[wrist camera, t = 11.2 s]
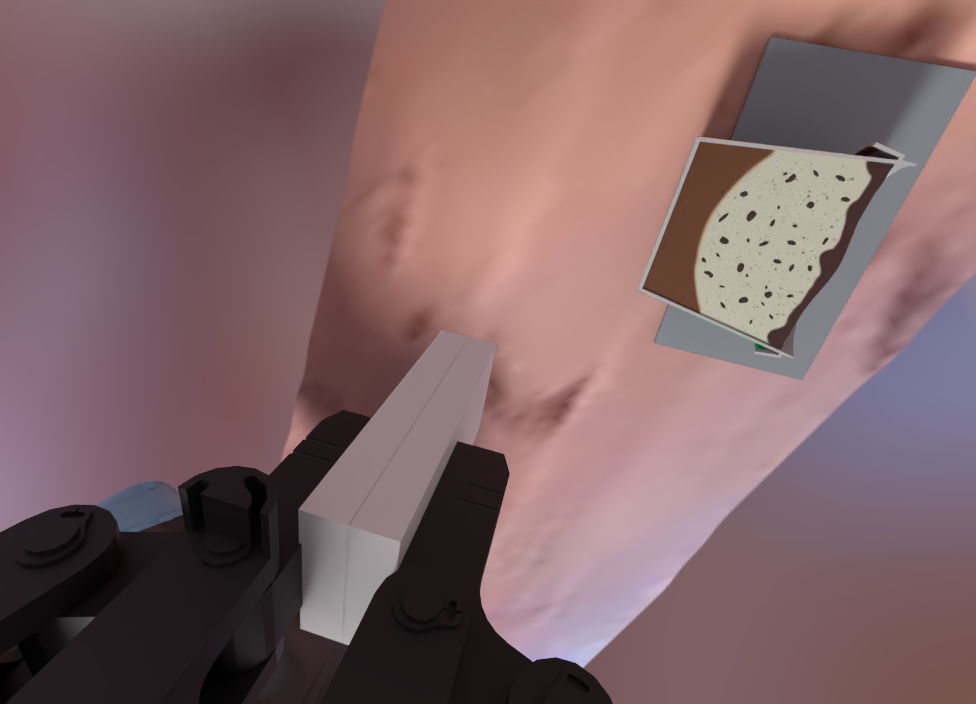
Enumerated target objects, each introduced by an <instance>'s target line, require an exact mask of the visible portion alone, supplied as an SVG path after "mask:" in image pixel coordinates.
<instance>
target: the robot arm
mask: <svg viewBox="0 0 976 704" xmlns="http://www.w3.org/2000/svg"><path fill="white" fill-rule="evenodd" d="M496 346H497V344H494V343H490V342H486V341H483V340H479V339H475V338H471V337H467V336H463V335H459V334H456V333H452V332H448V331H444V330H441V332H440V333H439V334H438V335H437V337H436V338H435V339H434V340H433V342H432V343H431V344H430V345H429V347H428V348H427V349H426V350H425V352H424V353H423V354H422V355H421V357H420V358H419V359H418V360H417V362H416V363H415V364H414V365H413V367H412V368H411V369H410V370H409V372H408V373H407V374H406V375H405V377H404V378H403V379H402V380H401V382H400V383H399V384H398V385H397V387H396V388H395V389H394V391H393V392H392V393H391V394H390V396H389V397H388V398H387V399H386V401H385V402H384V403H383V404H382V406H381V407H380V408H379V409H378V411H377V412H376V413H375V414H374V416H373V417H372V418H370V417H366V416H363V415H359V414H356V413H352V412H349V411H345V410H342V411H340V412H338V413H336V414H334V415H332V416H330V417H328V418H326V419H324V420H322V421H321V422H320V423H319V424H318V425H317V426H316V427H315V428H314V429H313V430H312V431H311V432H310V433H309V434H308V435H307V436H306V439H305V440H303V441H302V442H301V443H300V444H299V445H298V446H297V447H296V448H295V449H294V451H293V453H292V454H291V453H290V454H289V455H288V456H287V457H286V458H285V459H284V460H283V461H282V462H281V463H280V464H279V466H278V467H277V468H276V469H275V470H274V471H273V472H272V473H271V474H270V475H267V474H265V473H263V472H261V471H259V470H257V469H254V468H248V467H241V466H232V467H223V468H216V469H213V470H210V471H207V472H204V473H201V474H198V475H196V476H194V477H193V478H191V479H189V480H188V481H186V482H185V483H183V484H182V485H180V486H178V490H179V491H178V490H176V489H175V488H174V487H172V486H171V485H170V484H168V483H165V482H163V481H157V480H151V481H144V482H140V483H137V484H134V485H132V486H130V487H127V488H125V489H123V490H121V491H119V492H117V493H115V494H114V495H112V496H110V497H108V498H106V499H104V500H103V501H101V502H99V503H97V504H96V505H70V506H65V507H61V508H55V509H51V510H48V511H45V512H43V513H40V514H38V515H36V516H33V517H31V518H28V519H26V520H24V521H22V522H20V523H18V524H16V525H14V526H12V527H10V528H8V529H6V530H4V531H2V532H0V704H613V703H612V701H611V698H610V696H609V695H608V694H607V692H606V691H605V690H604V689H603V687H602V686H601V685H600V683H599V682H598V681H597V679H596V678H595V677H594V676H593V675H591V674H590V673H589V672H587V671H586V670H584V669H583V668H582V667H580V666H579V665H578V664H576V663H573V662H570V661H566V660H563V659H560V658H556V657H555V658H547V659H540V660H536V661H534V662H532V661H531V660H530V659H528V658H527V657H526V656H524V655H523V654H522V653H520V652H519V651H518V650H516V649H515V648H514V647H512V646H511V645H510V644H508V643H507V642H506V641H505V640H504V639H503V638H502V637H501V636H500V635H498V634H497V633H496V632H495V630H494V629H493V627H492V626H491V624H490V623H489V621H488V620H487V618H486V615H485V613H484V610H483V608H482V605H481V597H480V586H481V581H482V577H483V573H484V569H485V566H486V562H487V558H488V554H489V551H490V547H491V543H492V539H493V536H494V532H495V528H496V524H497V520H498V516H499V513H500V509H501V505H502V501H503V497H504V493H505V489H506V486H507V482H508V478H509V470H508V466H507V463H506V459H505V456H504V454H501V453H498V452H494V451H491V450H487V449H484V448H480V447H477V446H473V443H474V440H475V438H476V435H477V433H478V431H479V428H480V423H481V418H482V413H483V409H484V404H485V399H486V394H487V389H488V385H489V380H490V375H491V370H492V365H493V360H494V356H495V351H496Z"/></svg>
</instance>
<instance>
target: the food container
mask: <svg viewBox="0 0 976 704" xmlns="http://www.w3.org/2000/svg"><path fill="white" fill-rule="evenodd" d="M904 157H905V155H904V154H901V153H899V152H897V151H895V150H893V149H890V148H888V147H886V146H884V145H881V144H879V143H877V142H874V143H870V144H868V145H865V146H864V147H862V148H861V149H860V150H858V151H857V152H856V153H855V154H853V155H851V154H842V153H834V152H825V151H817V150H808V149H800V148H792V147H783V146H775V145H766V144H758V143H750V142H741V141H733V140H724V139H716V138H708V137H699V136H697V138H696V141H695V143H694V146H693V148H692V151H691V154H690V156H689V159H688V161H687V164H686V166H685V169H684V172H683V174H682V177H681V179H680V182H679V185H678V187H677V190H676V192H675V195H674V198H673V200H672V203H671V205H670V208H669V210H668V213H667V216H666V218H665V221H664V223H663V226H662V229H661V231H660V234H659V236H658V239H657V241H656V244H655V247H654V249H653V252H652V254H651V257H650V260H649V262H648V265H647V267H646V270H645V273H644V275H643V278H642V280H641V283H640V285H639V288H638V291H640V292H642V293H645V294H647V295H649V296H651V297H654V298H656V299H658V300H660V301H663V302H665V303H667V304H669V305H672V306H674V307H676V308H678V309H681V310H683V311H685V312H687V313H690V314H692V315H694V316H696V317H699V318H701V319H703V320H705V321H708V322H710V323H712V324H714V325H717V326H719V327H721V328H723V329H726V330H728V331H730V332H732V333H735V334H737V335H739V336H741V337H744V338H746V339H748V340H750V341H753V342H755V344H754V353H755V354H759V355H765V356H771V357H777V358H781V356H782V355H784V356H787V357H791V358H794V352H793V340H794V333H795V328H796V324H797V321H798V319H799V317H800V316H801V314H802V313H803V311H804V310H805V309H806V307H807V306H808V305H809V303H810V302H811V301H812V300H813V298H814V297H815V296H816V295H817V294H818V293H819V292H820V290H821V289H822V288H823V287H824V286H825V285H826V283H827V282H828V281H829V280H830V278H831V277H832V276H833V275H834V273H835V272H836V271H837V269H838V267H839V266H840V264H841V262H842V260H843V257H844V255H845V253H846V251H847V248H848V246H849V243H850V241H851V239H852V236H853V234H854V231H855V229H856V226H857V224H858V221H859V220H860V218H861V216H862V215H863V213H864V211H865V209H866V208H867V206H868V204H869V203H870V201H871V199H872V198H873V196H874V194H875V193H876V192H877V190H878V189H879V187H880V186H881V185H882V183H883V182H884V180H885V179H886V178H887V177H889V176H890V175H891V174H893V173H894V172H896V171H898V170H900V169H901V168H905V167H908V166H916V165H917V164H914V163H910V162H907V161H903V158H904Z"/></svg>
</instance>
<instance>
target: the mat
mask: <svg viewBox="0 0 976 704" xmlns="http://www.w3.org/2000/svg"><path fill="white" fill-rule="evenodd" d="M975 76H976V71H971V70H965V69H959V68H953V67H947V66H941V65H935V64H929V63H923V62H917V61H911V60H905V59H900V58H894V57H888V56H882V55H876V54H870V53H864V52H858V51H852V50H846V49H840V48H834V47H829V46H823V45H817V44H811V43H805V42H799V41H793V40H787V39H781V38H775V37H770V38H769V41H768V44H767V46H766V49H765V51H764V54H763V57H762V59H761V62H760V65H759V67H758V70H757V72H756V75H755V78H754V80H753V83H752V86H751V88H750V91H749V93H748V96H747V99H746V101H745V104H744V107H743V109H742V112H741V114H740V117H739V120H738V122H737V125H736V128H735V130H734V133H733V135H732V138H731V140H733V141H741V142H750V143H758V144H766V145H775V146H783V147H792V148H800V149H808V150H817V151H825V152H834V153H842V154H851V155H853V154H855V153H856V152H857V151H858V150H860V149H861V148H862V147H864V146H865V145H868V144H870V143H874V142H877V143H879V144H881V145H884V146H886V147H888V148H890V149H893V150H895V151H897V152H899V153H901V154H904V155H905V157H904V158H903V161H907V162H910V163H914V164H917V165H916V166H908V167H905V168H901V169H900V170H898V171H896V172H894V173H893V174H891V175H890V176H889V177H887V178H886V179H885V180H884V182H883V183H882V185H881V186H880V187H879V189H878V190H877V192H876V193H875V194H874V196H873V198H872V199H871V201H870V203H869V204H868V206H867V208H866V209H865V211H864V213H863V215H862V216H861V218H860V220H859V221H858V224H857V226H856V229H855V231H854V234H853V236H852V239H851V241H850V243H849V246H848V248H847V251H846V253H845V255H844V257H843V260H842V262H841V264H840V266H839V267H838V269H837V271H836V272H835V273H834V275H833V276H832V277H831V278H830V280H829V281H828V282H827V283H826V285H825V286H824V287H823V288H822V289H821V290H820V292H819V293H818V294H817V295H816V296H815V297H814V298H813V300H812V301H811V302H810V303H809V305H808V306H807V307H806V309H805V310H804V311H803V313H802V314H801V316H800V317H799V319H798V321H797V324H796V328H795V333H794V340H793V352H794V358H791V357H787V356H784V355H782V356H781V358H777V357H771V356H765V355H759V354H755V353H754V344H755V342H753V341H750V340H748V339H746V338H744V337H741V336H739V335H737V334H735V333H732V332H730V331H728V330H726V329H723V328H721V327H719V326H717V325H714V324H712V323H710V322H708V321H705V320H703V319H701V318H699V317H696V316H694V315H692V314H690V313H687V312H685V311H683V310H681V309H678V308H676V307H674V306H672V305H669V304H668V306H667V309H666V311H665V314H664V316H663V319H662V322H661V324H660V327H659V330H658V332H657V335H656V337H655V340H654V343H656V344H660V345H664V346H668V347H672V348H676V349H680V350H684V351H688V352H692V353H696V354H700V355H704V356H708V357H712V358H716V359H720V360H724V361H728V362H732V363H736V364H740V365H744V366H748V367H752V368H756V369H760V370H764V371H768V372H772V373H776V374H780V375H784V376H788V377H792V378H796V379H800V380H803V378H804V376H805V374H806V373H807V371H808V369H809V367H810V366H811V364H812V362H813V360H814V359H815V357H816V355H817V353H818V352H819V350H820V348H821V346H822V345H823V343H824V341H825V339H826V338H827V336H828V334H829V332H830V331H831V329H832V327H833V325H834V324H835V322H836V320H837V318H838V317H839V315H840V313H841V311H842V310H843V308H844V306H845V304H846V303H847V301H848V299H849V297H850V296H851V294H852V292H853V290H854V288H855V287H856V285H857V283H858V281H859V280H860V278H861V276H862V274H863V273H864V271H865V269H866V267H867V266H868V264H869V262H870V260H871V259H872V257H873V255H874V253H875V252H876V250H877V248H878V246H879V245H880V243H881V241H882V239H883V238H884V236H885V234H886V232H887V231H888V229H889V227H890V225H891V224H892V222H893V220H894V218H895V217H896V215H897V213H898V211H899V210H900V208H901V206H902V204H903V203H904V201H905V199H906V197H907V196H908V194H909V192H910V190H911V189H912V187H913V185H914V183H915V181H916V180H917V178H918V176H919V174H920V173H921V171H922V169H923V167H924V166H925V164H926V162H927V160H928V159H929V157H930V155H931V153H932V152H933V150H934V148H935V146H936V145H937V143H938V141H939V139H940V138H941V136H942V134H943V132H944V131H945V129H946V127H947V125H948V124H949V122H950V120H951V118H952V117H953V115H954V113H955V111H956V110H957V108H958V106H959V104H960V103H961V101H962V99H963V97H964V96H965V94H966V92H967V90H968V89H969V87H970V85H971V83H972V82H973V80H974V78H975Z"/></svg>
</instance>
